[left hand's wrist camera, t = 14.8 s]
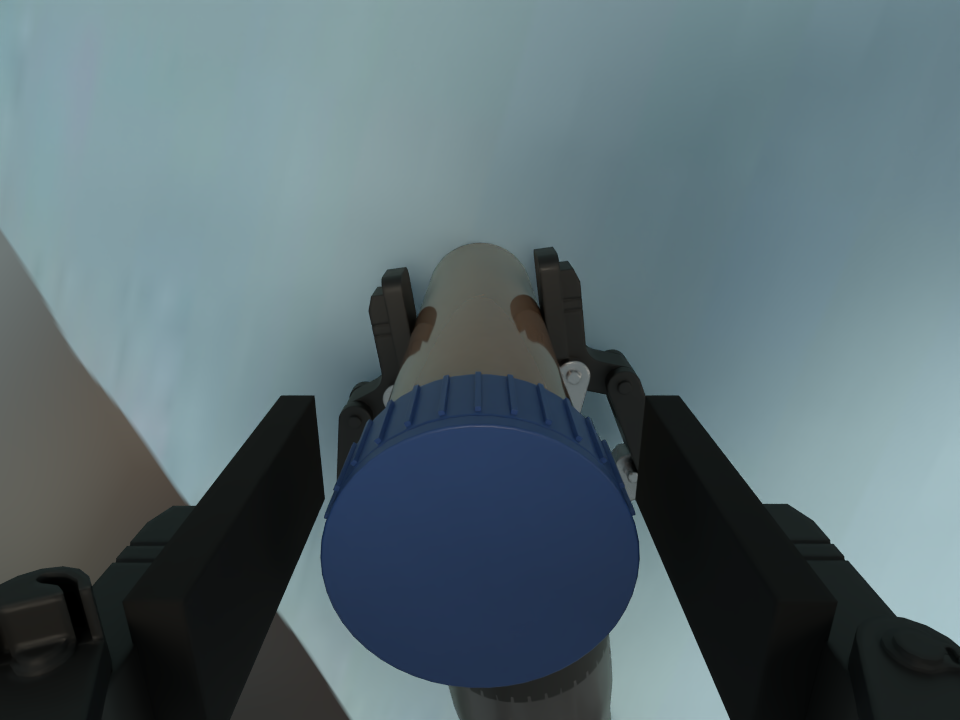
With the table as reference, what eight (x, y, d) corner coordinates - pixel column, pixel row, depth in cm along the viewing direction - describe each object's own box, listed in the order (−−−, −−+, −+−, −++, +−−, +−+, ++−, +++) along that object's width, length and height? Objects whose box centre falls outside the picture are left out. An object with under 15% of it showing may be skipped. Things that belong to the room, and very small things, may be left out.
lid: (363, 343, 11) (336, 389, 9) (652, 398, 12) (689, 455, 10) (327, 583, 13) (299, 666, 11) (577, 624, 13) (594, 711, 11)
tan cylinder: (539, 250, 28) (642, 446, 10) (521, 348, 29) (585, 665, 12) (435, 235, 27) (354, 409, 10) (423, 335, 29) (337, 637, 11)
